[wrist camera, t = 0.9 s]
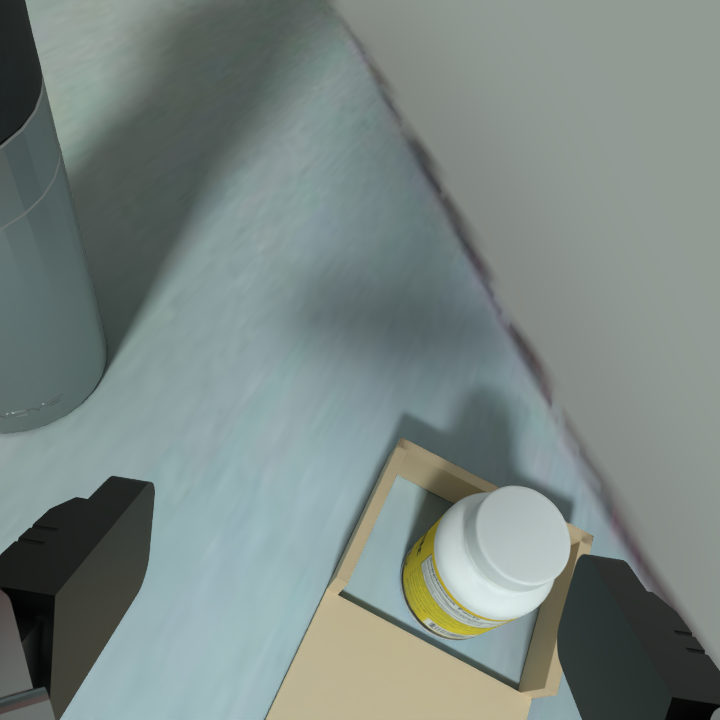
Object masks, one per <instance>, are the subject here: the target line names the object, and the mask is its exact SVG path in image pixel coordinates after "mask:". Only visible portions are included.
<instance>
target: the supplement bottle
mask: <svg viewBox="0 0 720 720" xmlns="http://www.w3.org/2000/svg"><path fill="white" fill-rule="evenodd" d="M570 548H571V540H570V534H569V530H568V527H567V524H566V522H565V520H564V518H563V516H562V514H561V513H560V511H559V510H558V509H557V507H556V506H555V505H554V504H553V503H552V502H551V501H550V500H549V499H548V498H547V497H545V496H544V495H542V494H541V493H539V492H537V491H535V490H533V489H530V488H527V487H524V486H505V487H501V488H499V489H496V490H494V491H493V492H486V493H477V494H473V495H470V496H467V497H465V498H463V499H461V500H460V501H458V502H457V503H455V504H454V505H453V506H452V507H451V508H450V509H448V510H447V511H446V512H445V514H444V515H443V516H442V517H441V518H440V519H439V520H438V521H437V522H436V523H435V524H434V525H433V526H432V527H431V528H430V529H429V530H428V531H427V532H426V533H425V534H424V535H423V536H422V537H421V538H420V539H419V540H418V541H417V542H416V543H415V544H414V545H413V546H412V548H411V549H410V550H409V552H408V553H407V555H406V557H405V559H404V561H403V564H402V567H401V573H400V589H401V594H402V598H403V601H404V604H405V606H406V608H407V610H408V612H409V613H410V615H411V617H412V618H413V619H414V621H415V622H416V623H417V624H418V625H419V626H420V627H421V628H423V629H424V630H425V631H427V632H428V633H430V634H432V635H433V636H436V637H438V638H441V639H445V640H452V641H458V640H465V639H469V638H473V637H475V636H477V635H480V634H482V633H484V632H486V631H489V630H491V629H493V628H496V627H498V626H500V625H502V624H505V623H507V622H510V621H512V620H515V619H517V618H519V617H521V616H523V615H525V614H527V613H529V612H531V611H532V610H534V609H535V608H537V607H538V606H539V605H540V604H541V603H542V602H543V601H544V600H545V598H546V597H547V595H548V594H549V592H550V590H551V588H552V586H553V583H554V579H555V578H556V577H557V576H559V575H560V573H561V572H562V571H563V569H564V568H565V566H566V564H567V562H568V559H569V556H570Z"/></svg>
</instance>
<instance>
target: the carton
mask: <svg viewBox="0 0 720 720" xmlns="http://www.w3.org/2000/svg"><path fill="white" fill-rule="evenodd" d="M396 475H399V476H401V477H403V478H405V479H407V480H409V481H411V482H413V483H415V484H417V485H419V486H420V487H422V488H424V489H426V490H428V491H430V492H432V493H434V494H436V495H438V496H440V497H442V498H444V499H446V500H447V501H449V502H451V503H453V504H455V503H457V502H458V501H460V500H461V499H463V498H465V497H467V496H470V495H473V494H477V493H486V492H493V491H494V490H496V489H499V487H497V486H495V485H493V484H491V483H490V482H488V481H486V480H484V479H482V478H480V477H478V476H476V475H474V474H472V473H470V472H468V471H466V470H464V469H462V468H460V467H458V466H456V465H455V464H453V463H451V462H449V461H447V460H445V459H443V458H441V457H439V456H437V455H435V454H433V453H431V452H429V451H427V450H425V449H423V448H421V447H420V446H418V445H416V444H414V443H412V442H410V441H408V440H406V439H404V438H402V437H401V439H400V440H399V442H398V443H397V445H396V446H395V448H394V450H393V451H392V453H391V454H390V456H389V457H388V459H387V461H386V463H385V465H384V468H383V470H382V472H381V474H380V476H379V478H378V480H377V482H376V485H375V487H374V489H373V491H372V493H371V495H370V497H369V500H368V502H367V504H366V506H365V508H364V510H363V512H362V514H361V517H360V519H359V521H358V523H357V525H356V527H355V529H354V531H353V534H352V536H351V538H350V540H349V542H348V544H347V546H346V549H345V551H344V553H343V555H342V557H341V559H340V561H339V563H338V566H337V568H336V570H335V572H334V574H333V576H332V578H331V580H330V583H329V585H328V587H327V589H326V591H325V593H324V595H323V598H322V600H321V602H320V604H319V606H318V608H317V610H316V612H315V615H314V617H313V619H312V621H311V623H310V625H309V627H308V629H307V632H306V634H305V636H304V638H303V640H302V642H301V644H300V646H299V649H298V651H297V653H296V655H295V657H294V659H293V661H292V664H291V666H290V668H289V670H288V672H287V674H286V676H285V678H284V681H283V683H282V685H281V687H280V689H279V691H278V693H277V695H276V698H275V700H274V702H273V704H272V706H271V708H270V710H269V713H268V715H267V717H266V719H265V720H527V716H528V712H529V708H530V704H531V700H532V699H533V698H539V697H546V696H553V695H557V692H558V688H559V684H560V679H561V675H562V671H563V670H562V667H561V664H560V662H559V658H558V652H557V632H558V626H559V622H560V619H561V615H562V611H563V608H564V604H565V600H566V597H567V593H568V590H569V586H570V582H571V579H572V575H573V572H574V568H575V565H576V562H577V560H578V558H579V557H580V556H581V555H582V554H588V555H589V554H590V549H591V545H592V541H593V535H591V534H589V533H587V532H585V531H583V530H581V529H579V528H577V527H575V526H573V525H571V524H569V523H567V522H566V524H567V527H568V530H569V534H570V540H571V548H570V556H569V559H568V562H567V564H566V566H565V568H564V569H563V571H562V572H561V573H560V575H559V576H557V577H556V578H555V579H554V583H553V586H552V588H551V590H550V592H549V594H548V595H547V597H546V598H545V600H544V601H543V602H542V603H541V606H540V609H539V613H538V617H537V621H536V624H535V628H534V632H533V636H532V640H531V643H530V647H529V651H528V655H527V658H526V662H525V666H524V670H523V673H522V677H521V681H520V685H519V689H518V691H517V690H515V689H513V688H511V687H509V686H507V685H505V684H504V683H502V682H500V681H498V680H496V679H494V678H492V677H490V676H489V675H487V674H485V673H483V672H481V671H479V670H477V669H475V668H474V667H472V666H470V665H468V664H466V663H464V662H462V661H460V660H459V659H457V658H455V657H453V656H451V655H449V654H447V653H446V652H444V651H442V650H440V649H438V648H436V647H434V646H432V645H431V644H429V643H427V642H425V641H423V640H421V639H419V638H417V637H416V636H414V635H412V634H410V633H408V632H406V631H404V630H402V629H401V628H399V627H397V626H395V625H393V624H391V623H389V622H387V621H386V620H384V619H382V618H380V617H378V616H376V615H374V614H372V613H371V612H369V611H367V610H365V609H363V608H361V607H359V606H358V605H356V604H354V603H352V602H350V601H348V600H346V599H344V598H343V597H341V596H339V595H338V594H339V593H340V592H341V591H342V589H343V588H344V587H345V586H346V585H347V584H348V582H349V579H350V577H351V575H352V573H353V571H354V568H355V566H356V564H357V562H358V560H359V557H360V555H361V553H362V551H363V549H364V546H365V544H366V542H367V540H368V537H369V535H370V533H371V531H372V529H373V526H374V524H375V522H376V520H377V518H378V515H379V513H380V511H381V509H382V506H383V504H384V502H385V500H386V498H387V495H388V493H389V491H390V489H391V487H392V484H393V482H394V480H395V478H396Z"/></svg>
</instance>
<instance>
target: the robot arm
mask: <svg viewBox="0 0 720 720" xmlns="http://www.w3.org/2000/svg"><path fill="white" fill-rule="evenodd" d="M106 359H107V344H106V340H105V335H104V331H103V326H102V322H101V317H100V313H99V309H98V304H97V299H96V294H95V290H94V286H93V282H92V278H91V273H90V269H89V265H88V261H87V257H86V252H85V248H84V244H83V240H82V236H81V231H80V227H79V223H78V219H77V215H76V210H75V206H74V202H73V198H72V194H71V190H70V185H69V181H68V177H67V173H66V169H65V164H64V160H63V156H62V152H61V148H60V144H59V141H58V137H57V133H56V129H55V124H54V120H53V116H52V112H51V108H50V103H49V99H48V95H47V91H46V87H45V83H44V78H43V75H42V71H41V66H40V62H39V58H38V54H37V50H36V46H35V42H34V38H33V34H32V29H31V25H30V21H29V16H28V12H27V7H26V2H25V0H0V433H2V434H7V433H15V432H23V431H28V430H32V429H35V428H38V427H41V426H45V425H48V424H50V423H52V422H54V421H56V420H58V419H60V418H62V417H64V416H66V415H67V414H68V413H70V412H71V411H72V410H74V409H75V408H76V407H78V406H79V405H80V404H81V403H82V402H83V401H84V400H85V399H86V398H87V397H88V396H89V395H90V394H91V393H92V392H93V390H94V389H95V387H96V385H97V384H98V382H99V380H100V378H101V377H102V374H103V371H104V368H105V364H106ZM154 497H155V489H154V484H153V483H152V482H148V481H141V480H135V479H129V478H123V477H117V476H111V477H109V478H108V479H107V480H106V481H105V482H104V483H103V484H102V485H101V486H100V487H99V488H98V489H97V490H96V491H95V492H94V493H93V494H92V495H91V496H90V497H89V498H88V499H84V498H78V497H75V498H73V499H71V500H69V501H66V502H64V503H62V504H60V505H57V506H55V507H53V508H51V509H49V510H48V511H47V512H46V513H45V514H44V515H43V516H42V517H41V518H40V519H38V520H37V521H36V522H35V523H34V524H33V527H32V528H29V529H28V530H27V531H26V532H24V533H23V534H22V535H21V536H20V537H19V539H18V542H17V541H15V542H14V543H13V544H11V545H10V546H9V547H8V548H7V549H6V550H5V551H4V552H3V553H2V554H1V555H0V720H60V718H61V717H62V715H63V713H64V712H65V710H66V708H67V707H68V705H69V704H70V702H71V700H72V699H73V697H74V696H75V694H76V692H77V691H78V689H79V687H80V686H81V684H82V683H83V681H84V679H85V678H86V676H87V675H88V673H89V671H90V670H91V668H92V667H93V665H94V663H95V662H96V660H97V658H98V657H99V655H100V654H101V652H102V650H103V649H104V647H105V646H106V644H107V642H108V641H109V639H110V637H111V636H112V634H113V633H114V631H115V629H116V628H117V626H118V625H119V623H120V621H121V620H122V618H123V617H124V615H125V613H126V612H127V610H128V608H129V607H130V605H131V604H132V602H133V600H134V599H135V597H136V596H137V594H138V592H139V590H140V588H141V586H142V583H143V580H144V577H145V574H146V570H147V566H148V561H149V552H150V541H151V530H152V519H153V508H154ZM557 652H558V658H559V662H560V664H561V667H562V670H563V672H564V675H565V677H566V680H567V682H568V685H569V687H570V690H571V693H572V695H573V698H574V700H575V703H576V705H577V708H578V710H579V713H580V716H581V718H582V720H720V671H719V669H718V668H717V667H716V665H715V664H714V663H713V661H712V660H711V658H710V657H709V656H708V655H705V650H704V649H703V647H702V646H701V645H700V643H699V642H698V641H697V639H696V638H695V637H692V632H691V631H690V630H689V628H688V627H687V625H686V624H685V623H684V621H683V620H682V618H681V617H680V616H679V614H678V613H677V612H676V611H675V610H674V609H672V608H671V607H670V606H669V605H668V604H666V603H665V602H664V601H663V600H661V599H660V598H659V597H658V596H657V595H655V594H654V593H653V592H648V591H646V589H645V588H644V586H643V585H642V584H641V582H640V581H639V579H638V578H637V576H636V575H635V573H634V572H633V570H632V569H631V568H630V566H629V565H628V563H627V562H625V561H624V560H619V559H613V558H606V557H600V556H594V555H588V554H582V555H581V556H580V557H579V558H578V560H577V562H576V565H575V568H574V572H573V575H572V579H571V582H570V586H569V590H568V593H567V597H566V600H565V604H564V608H563V611H562V615H561V619H560V622H559V626H558V632H557Z"/></svg>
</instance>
